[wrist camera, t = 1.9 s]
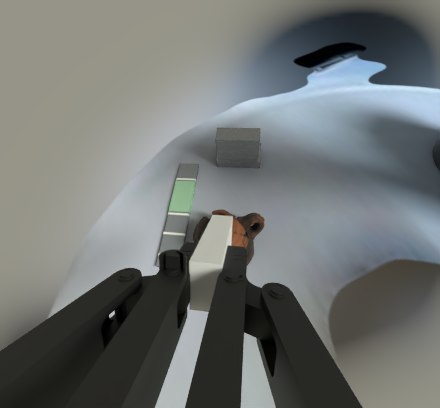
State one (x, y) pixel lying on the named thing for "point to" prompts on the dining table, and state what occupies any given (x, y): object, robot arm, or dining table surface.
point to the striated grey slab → (238, 147)
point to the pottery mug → (236, 230)
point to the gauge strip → (179, 209)
